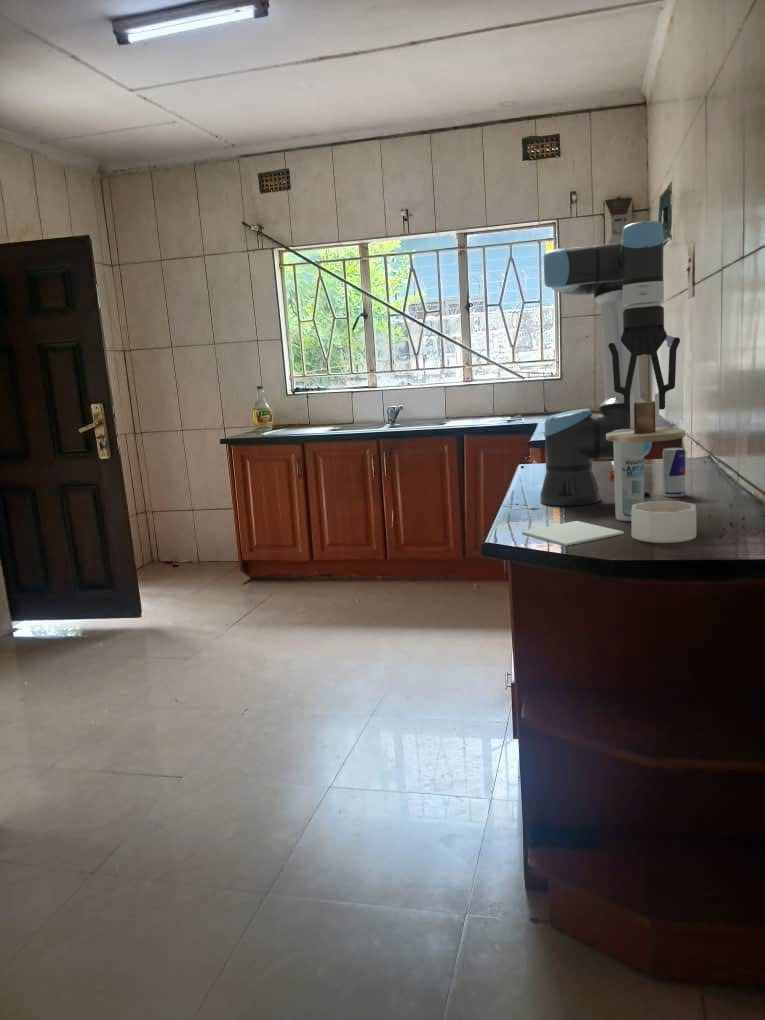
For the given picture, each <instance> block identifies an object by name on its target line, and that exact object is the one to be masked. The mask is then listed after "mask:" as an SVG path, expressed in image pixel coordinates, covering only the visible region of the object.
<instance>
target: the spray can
mask: <svg viewBox="0 0 765 1020" xmlns="http://www.w3.org/2000/svg"><path fill="white" fill-rule="evenodd" d="M621 430H627V429H621ZM615 431H619V430H615ZM613 446H614V459H613V469H614V470H613V474H614V505H615V506H614V507H615V508H614V509H615V511H614V513H615V519H616V520H618V521H622V522H623V521H624V522H631V509H632V505H633V504H638V503H644V502H645V456H644V442H613Z"/></svg>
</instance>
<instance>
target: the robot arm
mask: <svg viewBox="0 0 765 1020" xmlns="http://www.w3.org/2000/svg"><path fill="white" fill-rule="evenodd" d="M664 242H665V237H664V227H663V223H662V222H660V221H658V220H646V221H645V220H643V221H638V222H633V223H629V224H626V225H624V226H623V228H622V231H621V240H620V242H613V243H604V244H595V245H587V246H577V247H576V246H575V247H568V248H556V249H552V250H547V251H545V253H544V254H543V278H544V285H545V286H546V287H547V288H550V289H552V290H553V291H555V292H558V293H561V294H567V295H573V296H583V295H586V296H587V295H593V296H594V298H593V300H594V301H593V302H594V303H596V304H597V305H598V306H600V314H601V317H600V319H601V320H600V321H601V340H602V362H603V365H602V368H603V387H604V389H603V390H604V399H603V401H602V402H601V403H600V405H599V406H598V413H592V411H591V409H590V408H580V409H579V408H578V409H573V410H568V411H563V412H560V413H559V412H558V413H555V414H552V415H549V416H548V417H547V418H546V419H545V422H544V434H543V437H544V440H545V441H544V443H545V444H544V445H545V476H544V480H543V483H542V487H541V491H540V493H539V496H540V497H539V498H540V503H541V504H543V505H547V506H555V507H557V506H558V507H573V506H585V505H591V504H595V503H599V501H600V500H601V492H600V491H601V490H600V489H599V486H598V483H597V479H596V476H595V475H594V472H593V461H594V460H608V459H609V460H610V459H611V460H612V459H613V460H614V446H613V441H608V440H606V434H607V433H609V432H613V431H615V430H621V429H634V403H635V402H645V401H646V400H644V399H643V398H642V396H641V385H640V384H641V383H640V363H639V358H640V357H639V356H643V355H646V356H650V359H651V363H652V367H653V372H654V377H655V381H656V386H657V392H654V401H655V427H656V428H660V410H665V409H666V393H667V392H668V391H671V390H673V389H675V387H676V374H677V372H676V371H677V368H676V367H677V351H678V347H679V345H680V343H681V339H680V337H676V336H671V335H668V333H667V331H666V330H665V308H664V306H662V305H661V304H663V303H664V301H665V296H664V295H665V294H664V293H665V292H664V291H665V290H664V288H665V286H664V285H665V283H664V282H665V281H664ZM665 341H666V346H667V347H668V348H669V352H668V353H669V354H668V375H667V376H668V377H667V379H668V380H667V383H666V384H665V382H664V379H663V373H662V370H661V365H660V360H659V356H658V350H659V349H660V348H661V347H662V345H663V343H664V342H665ZM652 444H653V442H644V457H645V456H647V455H648V454H649V453H650V451H651V449H652Z"/></svg>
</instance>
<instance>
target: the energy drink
mask: <svg viewBox="0 0 765 1020" xmlns="http://www.w3.org/2000/svg"><path fill="white" fill-rule="evenodd" d="M686 491H687V490H686V450H685V448H684V447H666V448H663V451H662V495H663V496H664V497H666V498H667V497H668V498H680V497H681V498H683V497H684V496H685V495H686Z"/></svg>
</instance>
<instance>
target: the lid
mask: <svg viewBox="0 0 765 1020" xmlns="http://www.w3.org/2000/svg"><path fill="white" fill-rule="evenodd" d="M644 401H645V402H635V403H634V429H627V430H619V431H613V432H609V433H607V434H606V440H608V441H613V442H652V443H654V442H666V441H673V440H679V439H683V438H685V437H686V430H685V429H683V428H674V427H655V400H654V401H653V400H652V401H650V400H649V401H646V400H644Z"/></svg>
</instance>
